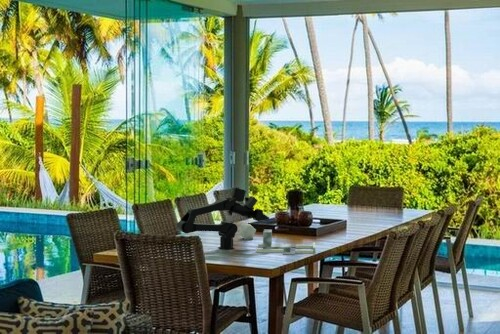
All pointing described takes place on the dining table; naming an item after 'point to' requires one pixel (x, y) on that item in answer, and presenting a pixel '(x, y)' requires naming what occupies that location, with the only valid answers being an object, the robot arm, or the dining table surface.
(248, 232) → the die
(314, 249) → the pale green open frame
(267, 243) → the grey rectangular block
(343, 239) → the dining table surface
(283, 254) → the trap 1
